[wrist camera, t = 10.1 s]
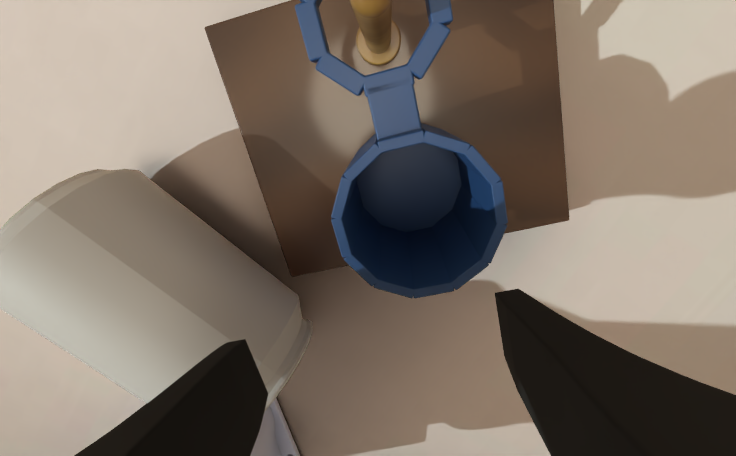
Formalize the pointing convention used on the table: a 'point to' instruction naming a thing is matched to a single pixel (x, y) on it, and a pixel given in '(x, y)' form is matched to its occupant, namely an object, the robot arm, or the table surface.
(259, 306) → the can
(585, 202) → the table surface
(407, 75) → the cup
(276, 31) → the peg stand
